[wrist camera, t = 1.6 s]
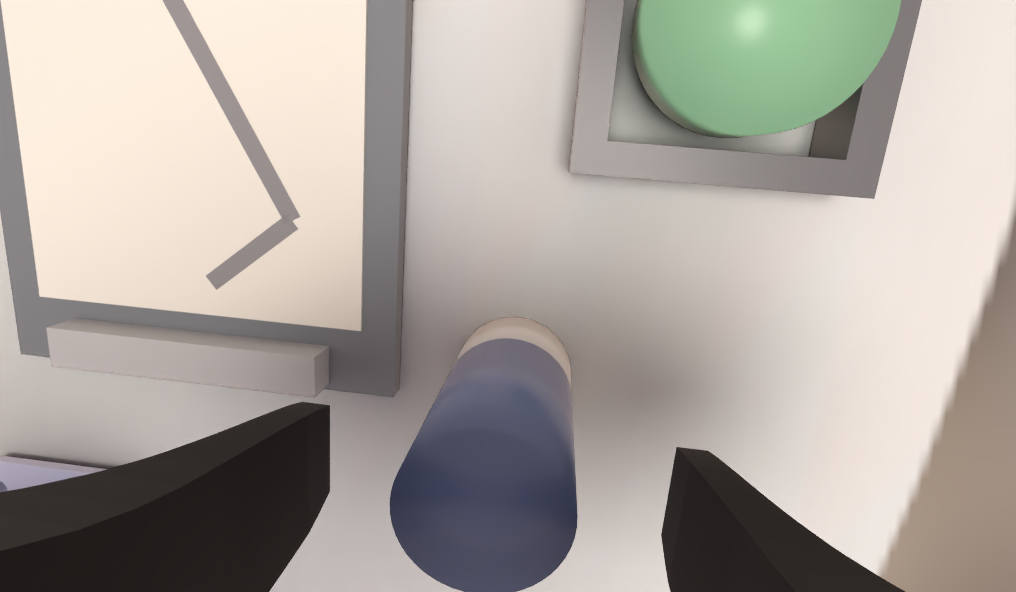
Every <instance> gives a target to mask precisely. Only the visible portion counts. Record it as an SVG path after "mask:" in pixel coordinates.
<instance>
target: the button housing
mask: <svg viewBox="0 0 1016 592" xmlns="http://www.w3.org/2000/svg"><path fill="white" fill-rule="evenodd" d="M921 2H922V0H901V4H900V10H899V15H898V19H897V22H896V25H895V29H894V32H893V34H892V37H891V39H890V41H889V44H888V46H887V48H886V50H885V52H884V54H883V55H882V57H881V59H880V61H879V62H878V64H877V66H876V67H875V68H874V70H873V71H872V72H871V74H870V75H869V77H868V78H867V79H866V80H865V82H864V83H863V84H862V85H861V86H860V87H859V88H858V89H857V90H856V91H855V92H854V93H853V94H852V95H851V96H850V97H849V98H848V99H846V100H845V101H844V102H843V103H842V104H841V105H839V106H838V107H836V108H835V109H833V110H832V111H830V112H829V113H827V114H826V115H824V116H822V117H820V118H818V119H817V120H816V125H815V130H814V135H813V140H812V144H811V149H810V154H809V157H802V156H789V155H777V154H765V153H752V152H740V151H727V150H715V149H703V148H690V147H678V146H665V145H653V144H641V143H628V142H616V141H607V140H608V132H609V124H610V115H611V107H612V99H613V90H614V82H615V74H616V66H617V57H618V49H619V41H620V32H621V24H622V16H623V7H624V0H586V9H585V19H584V28H583V38H582V47H581V57H580V66H579V76H578V85H577V95H576V104H575V114H574V123H573V133H572V142H571V152H570V161H569V173H578V174H590V175H601V176H613V177H625V178H637V179H648V180H660V181H672V182H684V183H696V184H707V185H719V186H731V187H743V188H754V189H766V190H778V191H790V192H801V193H813V194H825V195H837V196H848V197H860V198H872V199H874V197H875V193H876V189H877V185H878V181H879V176H880V172H881V168H882V164H883V160H884V156H885V152H886V147H887V143H888V139H889V135H890V131H891V127H892V123H893V118H894V114H895V110H896V106H897V102H898V98H899V93H900V89H901V85H902V81H903V77H904V73H905V69H906V64H907V60H908V56H909V52H910V48H911V44H912V40H913V35H914V31H915V27H916V23H917V19H918V15H919V10H920V6H921Z"/></svg>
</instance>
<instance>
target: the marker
mask: <svg viewBox="0 0 1016 592" xmlns="http://www.w3.org/2000/svg"><path fill="white" fill-rule="evenodd" d="M390 515H391V520H392V525H393V528H394V531H395V534H396V536H397V538H398V541H399V543H400V545H401V546H402V548H403V549H404V551H405V552H406V554H407V555H408V556H409V557H410V559H411V560H412V561H413V562H414V563H415V564H416V565H417V566H418V567H419V568H420V569H421V570H422V571H424V572H425V573H427V574H428V575H429V576H431V577H432V578H434V579H436V580H437V581H439V582H441V583H443V584H445V585H447V586H449V587H452V588H455V589H458V590H461V591H464V592H516V591H520V590H523V589H526V588H528V587H531V586H533V585H535V584H537V583H538V582H540V581H542V580H543V579H545V578H546V577H547V576H549V575H550V574H551V573H552V572H553V571H554V570H556V569H557V568H558V567H559V565H560V564H561V563H562V561H563V560H564V559H565V558H566V556H567V554H568V552H569V550H570V549H571V546H572V543H573V541H574V538H575V533H576V529H577V499H576V477H575V455H574V433H573V411H572V389H571V369H570V361H569V357H568V354H567V352H566V349H565V348H564V346H563V344H562V343H561V341H560V340H559V339H558V337H557V336H556V335H555V334H554V333H553V332H552V331H550V330H549V329H548V328H547V327H545V326H543V325H542V324H540V323H537V322H535V321H533V320H529V319H526V318H520V317H505V318H500V319H496V320H493V321H490V322H488V323H486V324H484V325H482V326H481V327H480V328H478V329H477V330H476V331H475V332H474V333H473V334H472V335H471V336H470V337H469V338H468V340H467V341H466V343H465V344H464V346H463V348H462V350H461V352H460V354H459V356H458V358H457V360H456V362H455V363H454V365H453V367H452V369H451V371H450V373H449V375H448V377H447V379H446V381H445V383H444V385H443V387H442V388H441V390H440V392H439V394H438V396H437V398H436V400H435V402H434V404H433V406H432V408H431V410H430V412H429V413H428V415H427V417H426V419H425V421H424V423H423V425H422V427H421V429H420V431H419V433H418V435H417V437H416V438H415V440H414V442H413V444H412V446H411V448H410V450H409V452H408V454H407V456H406V458H405V460H404V462H403V463H402V465H401V467H400V469H399V471H398V473H397V476H396V478H395V480H394V483H393V487H392V490H391V497H390Z"/></svg>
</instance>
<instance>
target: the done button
mask: <svg viewBox="0 0 1016 592" xmlns="http://www.w3.org/2000/svg"><path fill="white" fill-rule="evenodd" d="M900 4H901V0H638V1H637V5H636V8H635V13H634V19H633V27H632V47H633V55H634V61H635V66H636V69H637V72H638V75H639V78H640V80H641V82H642V84H643V86H644V88H645V91H646V92H647V94H648V95H649V97H650V98H651V100H652V101H653V102H654V103H655V105H656V106H657V107H658V108H659V109H660V110H661V111H662V112H663V113H664V114H665V115H666V116H668V117H669V118H670V119H671V120H672V121H674V122H676V123H677V124H679V125H680V126H682V127H684V128H686V129H688V130H691V131H693V132H695V133H699V134H702V135H706V136H711V137H718V138H737V137H746V136H754V135H762V134H771V133H779V132H783V131H787V130H791V129H795V128H798V127H800V126H803V125H806V124H808V123H811V122H813V121H815V120H816V119H818V118H820V117H822V116H824V115H826V114H827V113H829V112H830V111H832V110H833V109H835V108H836V107H838V106H839V105H841V104H842V103H843V102H844V101H845V100H846V99H848V98H849V97H850V96H851V95H852V94H853V93H854V92H855V91H856V90H857V89H858V88H859V87H860V86H861V85H862V84H863V83H864V82H865V80H866V79H867V78H868V77H869V75H870V74H871V72H872V71H873V70H874V68H875V67H876V66H877V64H878V62H879V61H880V59H881V57H882V55H883V54H884V52H885V50H886V48H887V46H888V44H889V41H890V39H891V37H892V34H893V32H894V29H895V25H896V22H897V19H898V15H899V10H900Z"/></svg>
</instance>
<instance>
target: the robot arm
mask: <svg viewBox="0 0 1016 592" xmlns="http://www.w3.org/2000/svg"><path fill="white" fill-rule="evenodd" d="M329 492H330V405H322V404H314V403H305V402H300V403H296V404H293V405H289V406H286V407H284V408H281V409H278V410H275V411H273V412H270V413H267V414H265V415H262V416H260V417H257V418H255V419H252V420H250V421H247V422H245V423H242V424H240V425H237V426H235V427H232V428H229V429H227V430H224V431H222V432H219V433H217V434H214V435H211V436H209V437H206V438H203V439H200V440H198V441H195V442H192V443H189V444H186V445H184V446H181V447H178V448H175V449H172V450H170V451H167V452H164V453H161V454H158V455H155V456H152V457H148V458H145V459H142V460H139V461H135V462H132V463H128V464H125V465H121V466H117V467H114V468H110V469H101V468H93V467H86V466H78V465H70V464H63V463H55V462H47V461H40V460H32V459H24V458H16V457H9V456H0V592H269V591H270V590H271V588H272V587H273V585H274V584H275V582H276V581H277V579H278V578H279V577H280V575H281V574H282V572H283V571H284V569H285V568H286V566H287V565H288V563H289V562H290V560H291V559H292V558H293V556H294V555H295V553H296V552H297V550H298V549H299V547H300V546H301V544H302V543H303V541H304V540H305V538H306V537H307V535H308V534H309V532H310V530H311V528H312V526H313V524H314V522H315V520H316V518H317V516H318V515H319V513H320V510H321V508H322V506H323V504H324V502H325V500H326V498H327V496H328V494H329ZM661 536H662V543H663V551H664V558H665V565H666V571H667V578H668V583H669V587H670V591H671V592H905V591H903V590H901V589H900V588H898V587H896V586H894V585H893V584H891V583H889V582H887V581H886V580H884V579H882V578H881V577H879V576H877V575H876V574H874V573H873V572H871V571H869V570H868V569H866V568H865V567H863V566H861V565H860V564H858V563H857V562H855V561H853V560H852V559H850V558H849V557H847V556H845V555H844V554H842V553H841V552H839V551H838V550H836V549H835V548H833V547H832V546H830V545H829V544H828V543H826V542H825V541H823V540H822V539H821V538H819V537H818V536H816V535H815V534H814V533H812V532H811V531H809V530H808V529H807V528H805V527H804V526H803V525H801V524H800V523H798V522H797V521H796V520H794V519H793V518H792V517H790V516H789V515H788V514H787V513H785V512H784V511H783V510H781V509H780V508H779V507H778V506H776V505H775V504H774V503H773V502H771V501H770V500H769V499H768V498H766V497H765V496H764V495H763V494H761V493H760V492H759V491H758V490H756V489H755V488H754V487H753V486H752V485H750V484H749V483H748V482H747V481H746V480H744V479H743V478H742V477H741V476H740V475H738V474H737V473H736V472H735V471H733V470H732V469H731V468H730V467H729V466H727V465H726V464H725V463H724V462H722V461H721V460H720V459H719V458H717V457H716V456H715V455H713V454H712V453H710V452H709V451H704V450H696V449H688V448H680V447H677V448H676V454H675V460H674V465H673V471H672V477H671V483H670V488H669V494H668V500H667V506H666V511H665V517H664V523H663V528H662V534H661Z"/></svg>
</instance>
